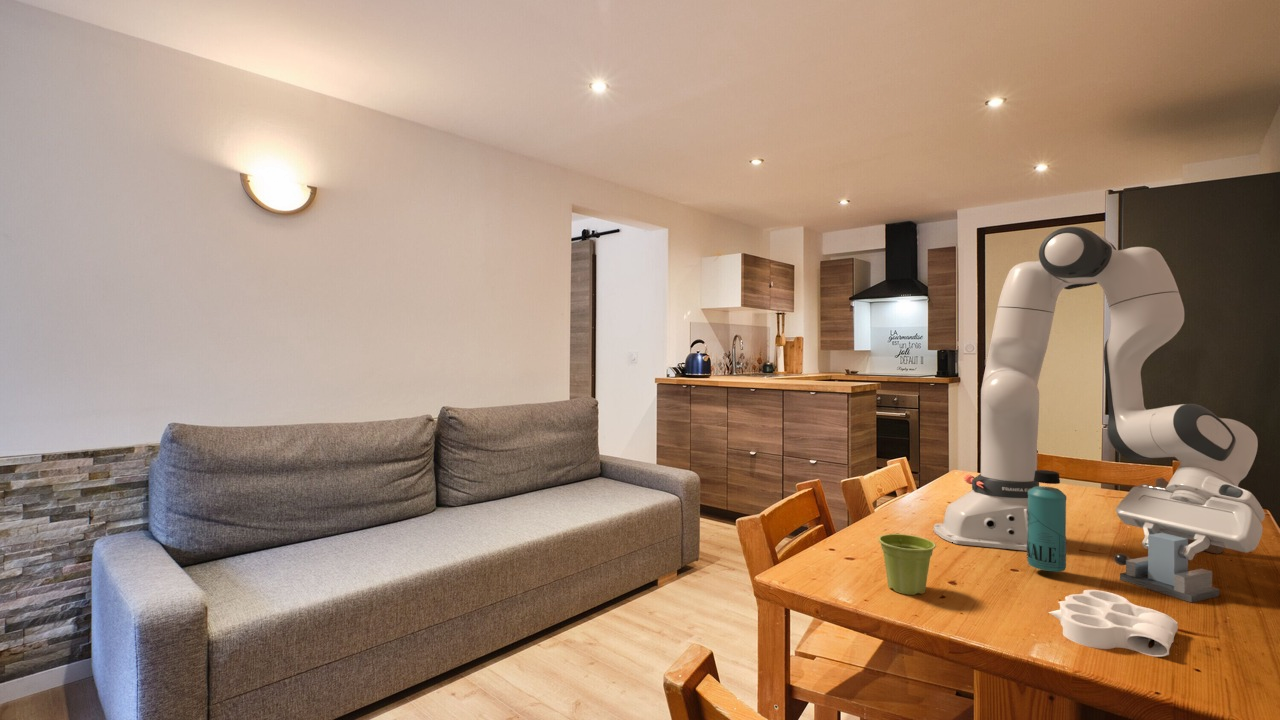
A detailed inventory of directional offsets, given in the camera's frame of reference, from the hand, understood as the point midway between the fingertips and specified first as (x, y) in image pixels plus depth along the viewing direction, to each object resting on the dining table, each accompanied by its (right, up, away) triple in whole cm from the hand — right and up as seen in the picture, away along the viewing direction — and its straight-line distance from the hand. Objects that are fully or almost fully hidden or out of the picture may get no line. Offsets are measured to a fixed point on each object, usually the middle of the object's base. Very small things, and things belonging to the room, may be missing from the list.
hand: (1165, 552), depth 107 cm
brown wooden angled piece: (+26, -7, +24) cm, 36 cm away
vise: (+1, -7, 0) cm, 7 cm away
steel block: (+1, -5, 0) cm, 5 cm away
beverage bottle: (-17, -7, +7) cm, 19 cm away
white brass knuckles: (-23, -7, -16) cm, 29 cm away
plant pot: (-47, -7, 0) cm, 48 cm away
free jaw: (-1, -5, +6) cm, 8 cm away
